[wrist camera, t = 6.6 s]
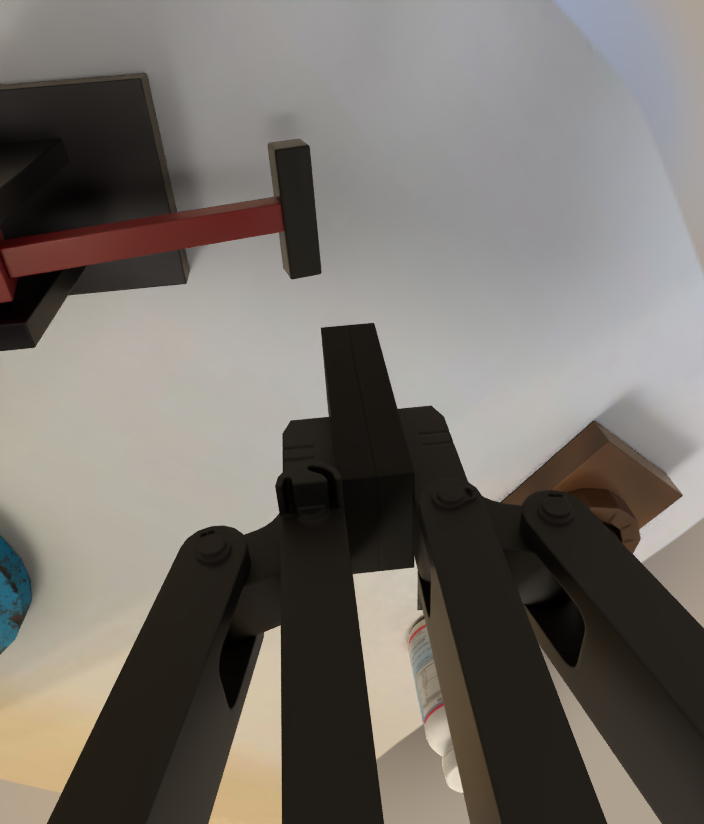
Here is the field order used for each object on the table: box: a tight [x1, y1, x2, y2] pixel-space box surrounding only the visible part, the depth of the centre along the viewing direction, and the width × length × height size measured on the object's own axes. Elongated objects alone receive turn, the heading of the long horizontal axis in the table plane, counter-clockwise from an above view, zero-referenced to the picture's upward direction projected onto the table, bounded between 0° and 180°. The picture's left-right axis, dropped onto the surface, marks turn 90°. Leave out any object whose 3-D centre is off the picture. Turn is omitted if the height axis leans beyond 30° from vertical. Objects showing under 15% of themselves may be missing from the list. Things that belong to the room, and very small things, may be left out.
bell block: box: [502, 421, 683, 554], centre depth 43 cm, size 12×8×4 cm, turn 142°
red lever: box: [0, 139, 321, 303], centre depth 24 cm, size 14×5×2 cm, turn 93°
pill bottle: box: [408, 619, 463, 793], centre depth 47 cm, size 6×6×11 cm
